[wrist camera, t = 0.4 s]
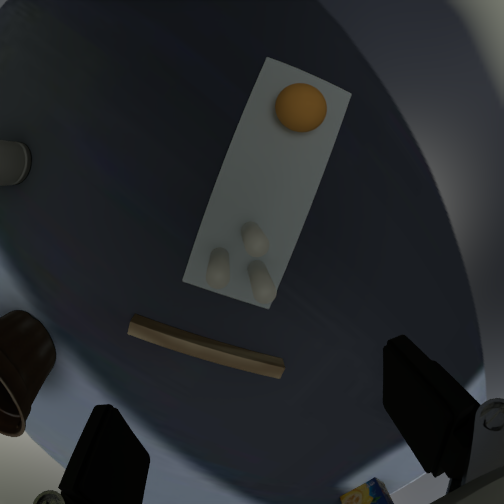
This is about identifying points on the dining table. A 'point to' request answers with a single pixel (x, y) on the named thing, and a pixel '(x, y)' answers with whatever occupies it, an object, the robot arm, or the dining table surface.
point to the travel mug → (13, 162)
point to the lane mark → (266, 182)
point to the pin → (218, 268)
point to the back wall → (205, 347)
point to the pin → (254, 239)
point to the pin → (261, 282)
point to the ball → (301, 107)
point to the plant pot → (21, 368)
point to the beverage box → (368, 494)
